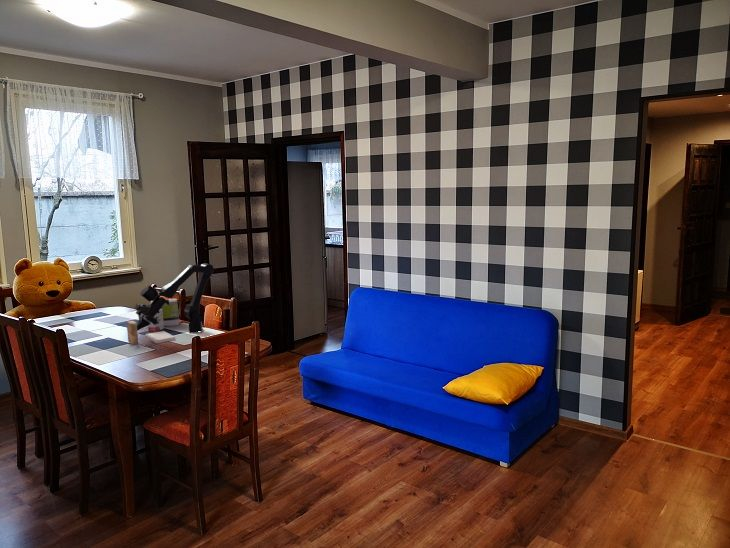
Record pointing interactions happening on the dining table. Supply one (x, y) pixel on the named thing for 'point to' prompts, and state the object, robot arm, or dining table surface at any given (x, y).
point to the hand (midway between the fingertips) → (135, 330)
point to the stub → (132, 332)
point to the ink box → (159, 325)
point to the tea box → (170, 313)
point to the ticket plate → (160, 336)
